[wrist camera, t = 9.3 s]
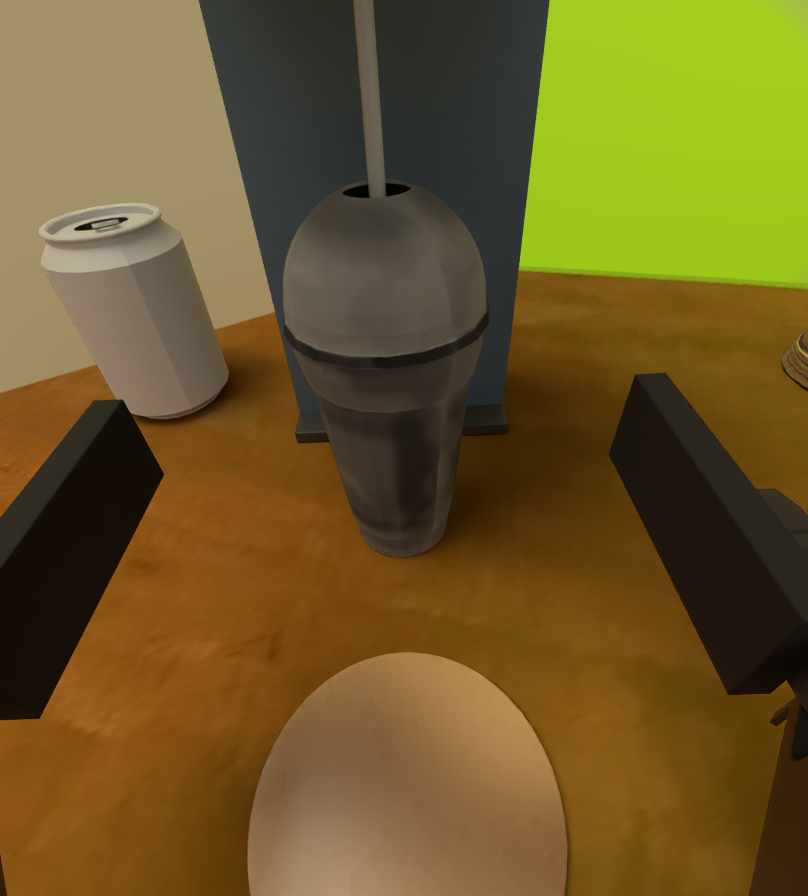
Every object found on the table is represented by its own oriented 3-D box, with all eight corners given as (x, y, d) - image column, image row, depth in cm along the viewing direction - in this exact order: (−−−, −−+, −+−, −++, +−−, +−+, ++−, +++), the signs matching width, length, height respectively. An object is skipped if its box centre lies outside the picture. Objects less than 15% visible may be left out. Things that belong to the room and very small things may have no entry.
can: (212, 355, 38) (151, 189, 30) (248, 397, 33) (188, 214, 25) (113, 390, 35) (15, 215, 27) (137, 442, 30) (28, 249, 22)
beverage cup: (325, 586, 22) (143, -34, 8) (337, 474, 27) (240, -11, 14) (484, 579, 22) (557, -62, 8) (464, 467, 27) (490, -28, 14)
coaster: (599, 1084, 11) (603, 1087, 11) (198, 1032, 12) (192, 1032, 12) (541, 663, 19) (542, 658, 18) (294, 649, 20) (292, 645, 19)
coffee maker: (550, 595, 21) (1298, -1904, 3) (258, 605, 21) (-804, -1579, 3) (490, 371, 34) (550, -304, 16) (312, 379, 35) (174, -274, 16)
